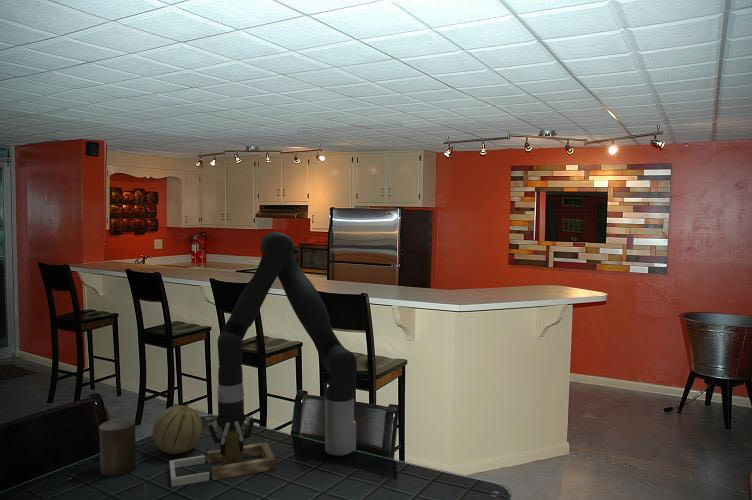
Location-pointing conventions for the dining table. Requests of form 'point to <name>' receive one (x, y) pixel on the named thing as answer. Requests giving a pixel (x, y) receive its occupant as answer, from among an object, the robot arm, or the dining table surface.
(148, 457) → the dining table surface
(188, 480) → the grey u-shaped staple
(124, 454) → the pillar candle
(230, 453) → the olive gourd
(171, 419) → the cantaloupe
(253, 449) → the oak channel
